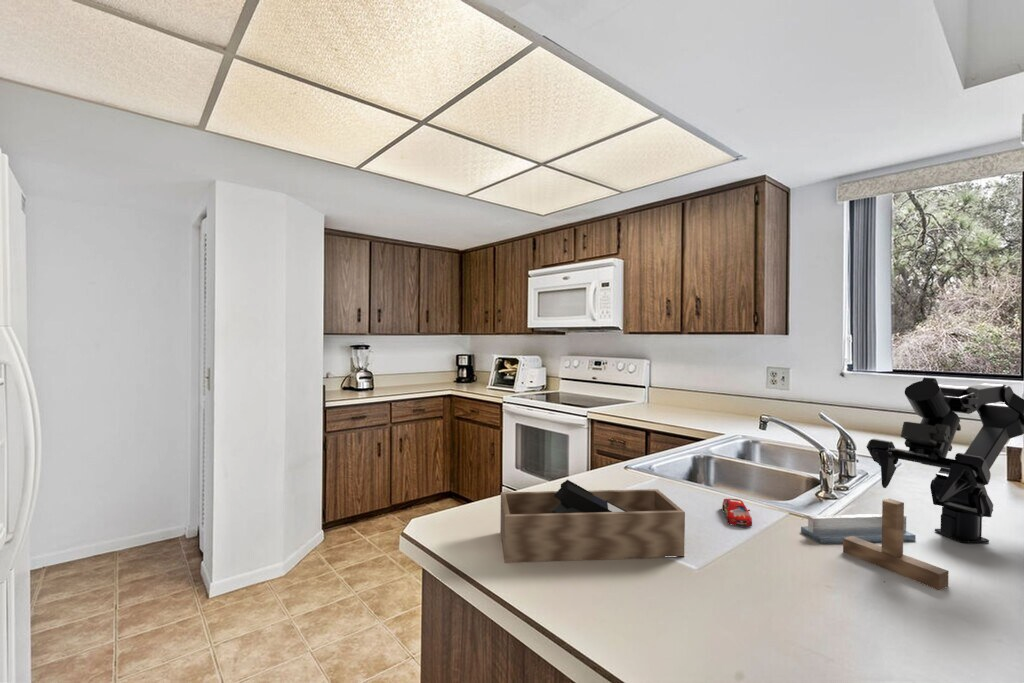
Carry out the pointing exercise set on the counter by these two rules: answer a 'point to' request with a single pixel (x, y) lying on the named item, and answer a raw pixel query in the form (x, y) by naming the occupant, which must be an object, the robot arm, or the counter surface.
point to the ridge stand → (848, 528)
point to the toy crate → (590, 527)
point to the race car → (736, 512)
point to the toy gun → (581, 500)
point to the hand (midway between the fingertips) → (910, 493)
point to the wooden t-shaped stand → (895, 550)
